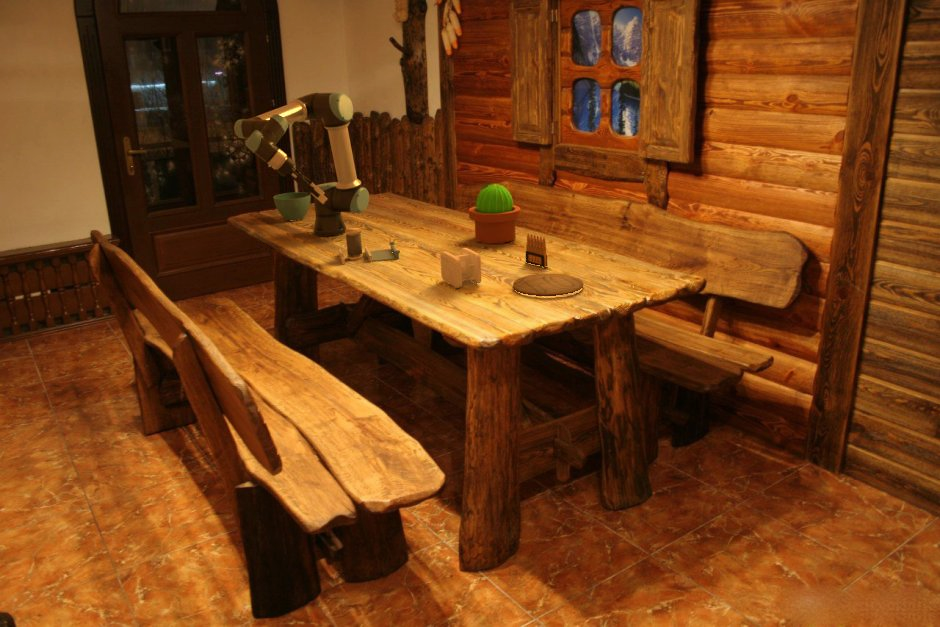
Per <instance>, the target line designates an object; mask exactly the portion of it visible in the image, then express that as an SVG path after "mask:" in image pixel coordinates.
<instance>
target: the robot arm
mask: <svg viewBox="0 0 940 627" xmlns="http://www.w3.org/2000/svg"><path fill="white" fill-rule="evenodd" d="M353 113H354V105H353V102H352V100H351V98H350V97H349V96H348V95H347V94H345V93H343V92H341V93H340V92H335V91H334V92H313V93H309V94H305V95H303V96H299V97H297V98H295V99H293V100H291V101H290V102H289V104H286V105H283V106H280V107H278V108H275V109H273V110H269V111H267V112H264V113H262V114H259V115H257V116H255V117H254V116H252V117H250V118H247V119H246V118H241V119H238V120H236V121H235V123H234V125H233V131H234V134H235V136H237V138H240V139H245V140H246V141H245V146H246V147H247V148H248V149H249V150H250V151H251V152H252V153H254V154H255V155H256V156H257V157H258V158H260V159H261V160H262V161H263V162H265V163H266V164H267V165H268V166H267V167H268V168H272V169H273V170H276V172H277V173H278V174H279V175H280V176H281V177H286V176H287V175H288V174H289V175H290V178H291V179H292V180H293V181H295V182H296V183H297V184H299V185H300V186H301V187H302V189H305V191H306V193H308V194H310V195H312V196H313V201H314V202H313V203H314V211H315V212H314V214H315V220H314V225H313V230H312V231H313V235H314V236H316V235H317V237H333V236H332V235H337V236H340V235H339V234H341V235H344V234H345V230H346V229H347V226H346V224H345V221H344V219H343V217H342V213H347V214H348V213H349V214H361V213H363V212H364V211H365V210H366V209H367V207H368V205H369V201H370V194H369V191H368V189H367V188H366V187H364V186H363V185H362V181H361V180H360V179H358V178H357V177H358V176H357V172H356V165H355V161H354V154H353V150H352V146H351V138H350V134H349V128H348V127H349V125H350V123H351V119H352V118H353V116H354V115H353ZM305 121H322V125H323V127H324V128H325V129H326V130H327V132H328V133H327V134H328V138H329V142H330V143H329V144H330V147H331V152H332V153H331V154H332V157H333V158H332V159H333V163H334V168H335V172H336V177H337V182H336V181H332V182H326V183H322V184H321V183H320V184H315V183H314V179H310V178H308V177H306V175H304V174H303V173H302V172H301V171H300V170H299V169H298V168H296V167H295V165H296V161H295V160H293V158H292V157H290V156H288V155H287V153H285V152H284V150H282V149H281V148H279V146H277V144H278V142H279V141H280V140H281V138H282V137H283V136H284V135H285V134H286V131H287V129H288V128H289V125H290V124H292V123H296V122H298V123H302V122H305ZM343 233H344V234H343Z"/></svg>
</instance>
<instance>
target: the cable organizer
mask: <svg viewBox="0 0 940 627" xmlns="http://www.w3.org/2000/svg"><path fill="white" fill-rule="evenodd" d="M439 256H440V270H441V271H440V272H441V273H440V274H441V278H442V280H443V281H444V282H445V281H446V282H445V283H447V284H448V283H449V284H448V285H451V286H452V287H453V286H454V287H453V288H455V289H459V288H461V287H462V286H463V284H464V281H465V280H467V279H469V280H468V281H469V282H472V283H473V282H474V283H476V284H475V285H478V284H480V283H481V282H482V264H481V263H482V262H481V260H482V259H481V256H480V254H479V253H477V252H476V251H473V250H472V249H470V248H467V247H462V248H460V254H459V255H458V254H457V255H454V254H452V253H451V252H449V251H446V250H445V251H441V252H440V255H439ZM474 283H473V284H474ZM477 283H478V284H477Z"/></svg>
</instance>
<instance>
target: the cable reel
mask: <svg viewBox="0 0 940 627" xmlns="http://www.w3.org/2000/svg"><path fill="white" fill-rule="evenodd" d="M361 232H362V229H361V228H359V227H351V228H346V230H345V233H344V234H345V239H346V240H345V241H346V251H347V256H346V257H347V260H348V259H350V260H349V261H359V260H358V259H360V260H363V259H364V254H363V248H362V237H361V236H362V235H361ZM362 258H363V259H362Z"/></svg>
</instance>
